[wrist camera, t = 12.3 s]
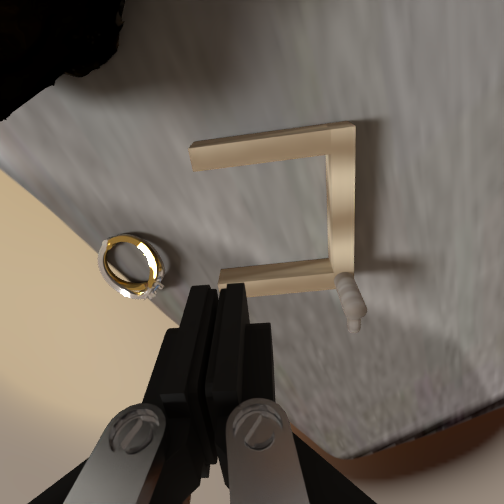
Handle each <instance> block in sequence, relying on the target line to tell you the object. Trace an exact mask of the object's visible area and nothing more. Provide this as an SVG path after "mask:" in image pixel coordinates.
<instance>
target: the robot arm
mask: <svg viewBox="0 0 504 504" xmlns="http://www.w3.org/2000/svg"><path fill="white" fill-rule="evenodd" d="M218 458H219V462H220V466H221V470H222V474H223V478H224V482H225V485H226V486H227V487H228V488H229V490H230V504H377V503H375V502H374V501H373V500H372V499H371V498H370V497H368V496H367V495H366V494H365V493H364V492H363V491H361V490H360V489H359V488H358V487H357V486H355V485H354V484H353V483H352V482H351V481H350V480H348V479H347V478H346V477H345V476H344V475H342V474H341V473H340V472H339V471H338V470H337V469H335V468H334V467H333V466H332V465H331V464H329V463H328V462H327V461H326V460H325V459H324V458H322V457H321V456H320V455H319V454H318V453H316V452H315V451H314V450H313V449H312V448H310V447H309V446H308V445H307V444H306V443H305V442H303V441H302V440H301V439H300V438H299V437H298V436H296V435H295V434H294V433H293V432H292V430H291V427H290V422H289V419H288V417H287V414H286V412H285V411H284V410H283V409H282V407H281V406H280V405H279V404H277V403H275V383H274V363H273V347H272V335H271V324H270V323H255V324H250V321H249V313H248V305H247V297H246V289H245V283H230V284H227V287H226V288H222V289H221V290H220V296H219V300H218V294H217V290H216V289H211V287H210V285H199V286H192V287H191V289H190V293H189V296H188V300H187V303H186V306H185V310H184V313H183V317H182V320H181V323H180V327H179V328H170V329H168V330H167V331H166V334H165V336H164V340H163V343H162V345H161V348H160V351H159V355H158V357H157V360H156V363H155V366H154V369H153V372H152V375H151V378H150V381H149V384H148V387H147V390H146V393H145V395H144V398H143V402H142V403H139V404H136V405H132V406H129V407H128V408H126V409H125V410H122V411H121V412H119V413H118V414H117V415H116V416H115V417H114V418H113V419H112V420H111V421H110V423H109V424H108V425H107V427H106V428H105V430H104V432H103V434H102V435H101V437H100V439H99V441H98V443H97V444H96V446H95V448H94V450H93V451H92V453H91V455H90V457H89V458H88V459H86V460H85V461H84V462H82V463H81V464H80V465H79V466H77V467H76V468H74V469H73V470H72V471H70V472H69V473H68V474H66V475H65V476H64V477H63V478H61V479H60V480H58V481H57V482H56V483H55V484H53V485H52V486H51V487H49V488H48V489H46V490H45V491H44V492H42V493H41V494H40V495H39V496H37V497H36V498H35V499H33V500H32V501H31V502H29V503H28V504H190V500H191V493H192V492H193V491H194V490H196V489H197V488H198V487H199V486H200V481H201V478H208V477H209V470H210V464H216V463H217V459H218Z"/></svg>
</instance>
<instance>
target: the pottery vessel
mask: <svg viewBox="0 0 504 504" xmlns="http://www.w3.org/2000/svg"><path fill="white" fill-rule="evenodd" d="M124 4H125V0H0V121H3V120H7V119H6V118H7V117H9V116H10V114H11V113H12V112H13V111H15V110H16V109H18V108H19V107H20V106H22V105H23V104H24V103H26V102H27V101H29V100H30V99H31V98H33V97H34V96H35V95H37V94H38V93H39V92H41V91H42V90H43V89H45V88H47V87H49V86H51V85H53V86H54V84H55V80H56V79H57V78H58V77H60V76H61V75H62V74H67V75H71V76H75V77H83V76H86V75H87V74H89V73H90V72H91V71H93V70H96V69H98V68H100V66H101V65H103V64H105V63H106V62H107V61H108V60H109V59H110V58H111V57H112V56H113V55H114V54H115V53H116V51H117V49H118V46H119V44H118V40H119V32H120V30H121V28H122V26H123V23H124V22H122V20H121V18H122V12H123V8H124Z"/></svg>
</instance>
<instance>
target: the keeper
mask: <svg viewBox="0 0 504 504" xmlns="http://www.w3.org/2000/svg"><path fill="white" fill-rule="evenodd" d="M355 136H356V126H355V125H353V124H351V123H350V122H348V121H343V122H336V123H328V124H321V125H313V126H306V127H299V128H291V129H284V130H277V131H269V132H262V133H255V134H247V135H240V136H233V137H225V138H218V139H210V140H203V141H196V142H193V144H192V145H191V146H190V147H189V148H188V151H189V155H190V160H191V164H192V169H193V172H196V171H203V170H211V169H219V168H227V167H235V166H242V165H250V164H258V163H266V162H274V161H281V160H289V159H297V158H305V157H313V156H320V155H326V183H327V218H328V252H329V258H326V259H316V260H307V261H297V262H287V263H277V264H268V265H258V266H248V267H238V268H228V269H221V271H220V276H219V281H218V287H219V292H220V290H221V289H222V288H226V287H227V284H230V283H245V289H246V297H255V296H266V295H277V294H287V293H298V292H308V291H319V290H329V289H337V292H338V295H339V298H340V301H341V304H342V307H343V310H344V313H345V316H346V317H347V328H348V330H349V332H351V333H358V332H359V331H360V328H361V318H362V317H364V316H365V314H366V313H367V307H366V305H365V303H364V300H363V298H362V296H361V293H360V291H359V289H358V286H357V284H356V282H355V280H354V217H355Z"/></svg>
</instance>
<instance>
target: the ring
mask: <svg viewBox="0 0 504 504" xmlns="http://www.w3.org/2000/svg"><path fill="white" fill-rule="evenodd" d="M117 242H129V243H132V244H134V245H136V246H137V247H139V248H140V249H141V250H142V251H143V252H144V254H145V255H146V257H147V259H148V261H149V265H150V276H149V280H148V283H147V282H144V283H131V282H127V281H124V280H122V279H120V278H118V277H117V276H115V274H114V273H113V272H112V271H111V270H110V268H109V266H108V263H107V252H108V250H109V249H111V248H112V247H114V246H115V245H116V243H117ZM98 266H99V269H100V272H101V274H102V276H103V278H104V279H105V281H106V282H107V283H108V284H109V285H110V286H111V287H112V288H114V289H115V290H116V291H118V292H119V293H121V294H123V295H124V296H127V297H129V298H132V299H146V298H147V296H148V297H149V299H152V298H153V297H155V296H156V293H157V291H156V289H157V288H159V289H160V290H161V289H162V288H163V287H164V285H163V284H162V283H160V282H161V281H162V279H163V277H164V274H165V267H164V264H163V261H162V259H161V257H160V255H159V254H158V252H157V251H156V249H155V248H154V247H153V246H152V245H151V244H150V243H149V242H147V241H146V240H144V239H142V238H140V237H138V236H135V235H130V234H121V235H117V236H114V237H113V238H111V237H109V238H107V239H106V240H104V241H103V242H102V247H101V248H100V251H99V253H98ZM157 277H158V278H157ZM143 289H144V290H143ZM131 290H141V291H139V292H134V291H131Z"/></svg>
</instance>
